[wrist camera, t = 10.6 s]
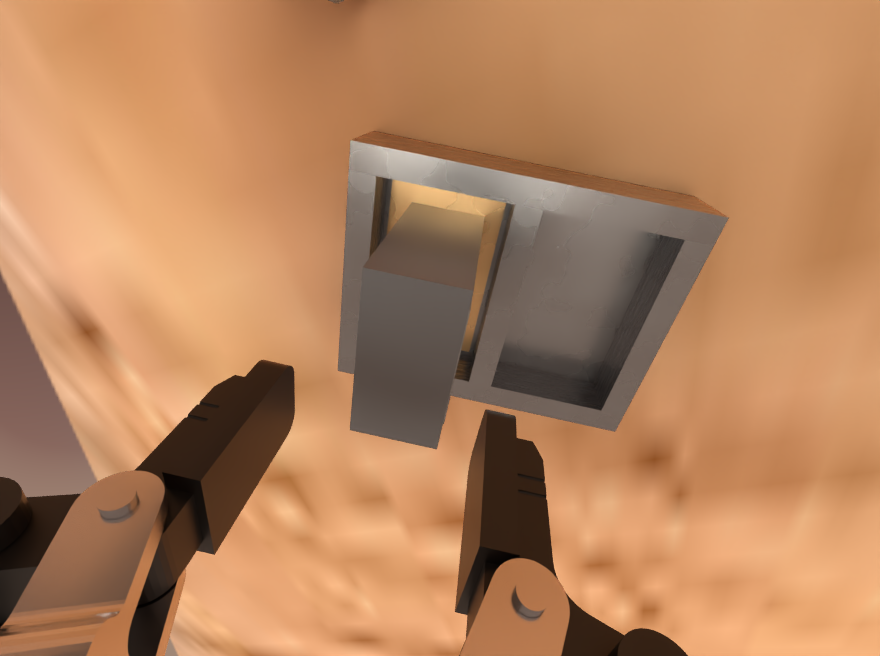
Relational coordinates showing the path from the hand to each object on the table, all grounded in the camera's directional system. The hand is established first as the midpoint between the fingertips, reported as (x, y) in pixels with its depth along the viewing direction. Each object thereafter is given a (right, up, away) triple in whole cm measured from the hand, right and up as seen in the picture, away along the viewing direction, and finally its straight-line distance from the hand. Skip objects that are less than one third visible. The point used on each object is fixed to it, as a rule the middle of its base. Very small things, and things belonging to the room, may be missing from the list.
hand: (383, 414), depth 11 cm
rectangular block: (+1, +4, +8) cm, 9 cm away
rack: (+4, +5, +9) cm, 11 cm away
